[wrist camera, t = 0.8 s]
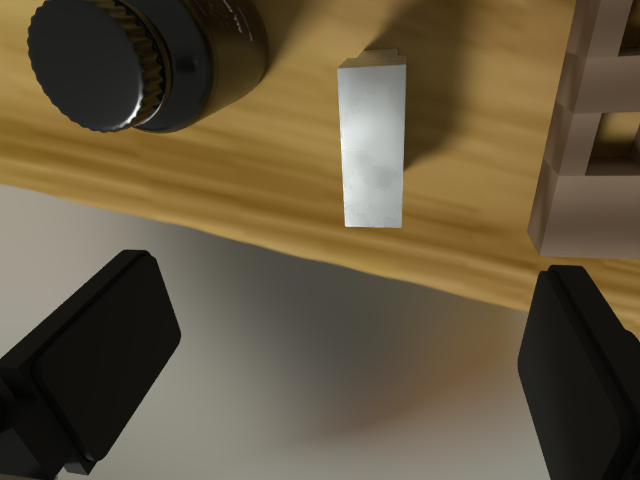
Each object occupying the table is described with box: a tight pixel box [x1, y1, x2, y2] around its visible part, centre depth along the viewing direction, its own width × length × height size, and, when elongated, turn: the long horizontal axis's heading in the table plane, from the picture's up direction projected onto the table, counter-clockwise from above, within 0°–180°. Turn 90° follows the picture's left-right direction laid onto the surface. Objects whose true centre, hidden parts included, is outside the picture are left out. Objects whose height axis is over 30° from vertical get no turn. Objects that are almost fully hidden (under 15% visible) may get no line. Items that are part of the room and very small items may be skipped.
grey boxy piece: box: [337, 48, 406, 228], centre depth 22 cm, size 8×3×7 cm, turn 5°
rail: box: [527, 0, 640, 259], centre depth 20 cm, size 20×6×3 cm, turn 5°
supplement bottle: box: [27, 0, 268, 133], centre depth 20 cm, size 7×7×12 cm
